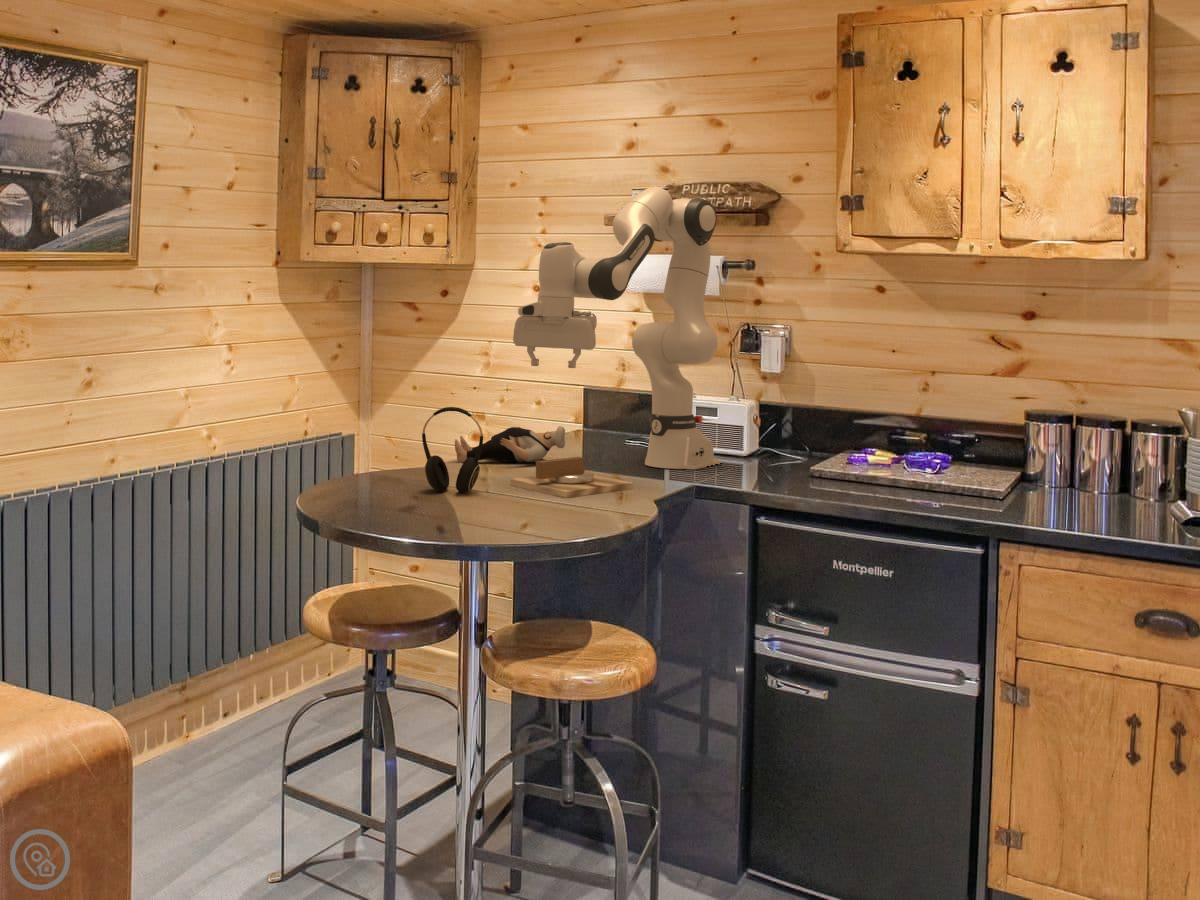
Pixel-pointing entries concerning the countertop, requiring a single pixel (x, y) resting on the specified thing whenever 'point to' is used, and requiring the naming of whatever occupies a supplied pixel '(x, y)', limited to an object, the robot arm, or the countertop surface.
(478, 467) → the headphones
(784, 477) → the countertop surface
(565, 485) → the dial plate
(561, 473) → the dial
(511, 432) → the figurine
